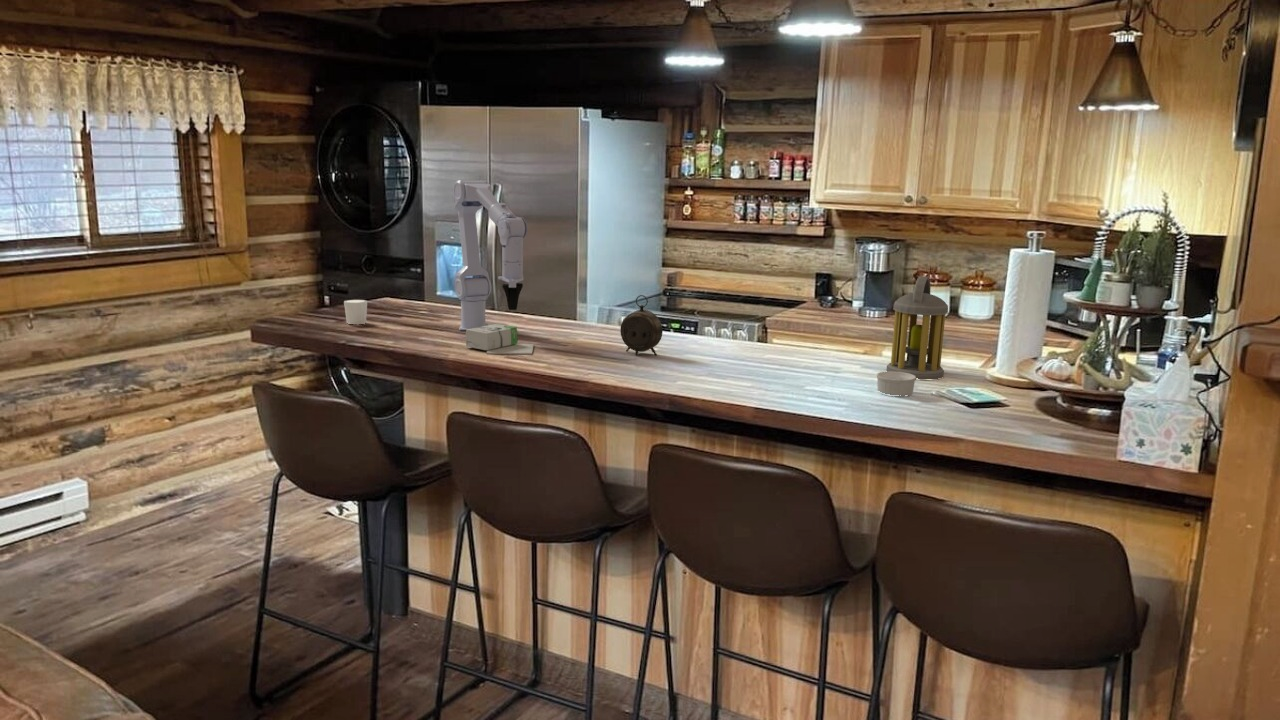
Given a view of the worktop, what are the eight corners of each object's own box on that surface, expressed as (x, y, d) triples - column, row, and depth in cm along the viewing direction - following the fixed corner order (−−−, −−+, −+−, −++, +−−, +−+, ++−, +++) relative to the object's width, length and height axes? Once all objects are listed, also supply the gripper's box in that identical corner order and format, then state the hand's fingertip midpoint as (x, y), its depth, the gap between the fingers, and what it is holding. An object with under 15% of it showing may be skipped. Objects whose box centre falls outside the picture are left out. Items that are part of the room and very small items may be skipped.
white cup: (364, 325, 288) (363, 303, 286) (341, 325, 288) (340, 302, 286) (370, 322, 295) (370, 299, 293) (348, 321, 295) (347, 298, 293)
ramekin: (891, 399, 217) (893, 381, 216) (867, 390, 225) (869, 372, 224) (922, 396, 221) (924, 378, 220) (898, 387, 229) (899, 369, 228)
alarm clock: (662, 354, 258) (664, 295, 254) (654, 358, 253) (656, 298, 250) (625, 350, 262) (627, 292, 259) (617, 354, 257) (618, 294, 254)
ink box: (517, 326, 263) (488, 332, 254) (517, 344, 264) (488, 351, 255) (494, 323, 268) (464, 329, 258) (494, 340, 269) (465, 347, 260)
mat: (490, 345, 265) (490, 343, 265) (533, 345, 266) (533, 344, 266) (486, 354, 253) (486, 352, 253) (531, 354, 254) (531, 353, 254)
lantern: (893, 365, 253) (901, 271, 247) (948, 372, 246) (957, 275, 241) (880, 375, 240) (888, 276, 235) (937, 382, 234) (947, 281, 229)
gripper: (498, 258, 271) (498, 305, 274) (497, 264, 257) (497, 313, 260) (523, 258, 272) (523, 305, 275) (523, 264, 258) (523, 314, 261)
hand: (512, 309), depth 268 cm, fingers closed
